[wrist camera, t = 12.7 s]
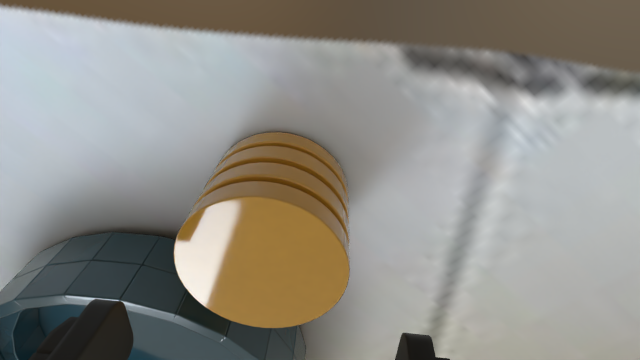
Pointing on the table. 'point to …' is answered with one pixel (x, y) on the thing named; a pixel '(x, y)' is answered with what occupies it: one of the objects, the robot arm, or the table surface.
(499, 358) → the table surface
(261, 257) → the tan ridged cylinder
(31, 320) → the bowl
